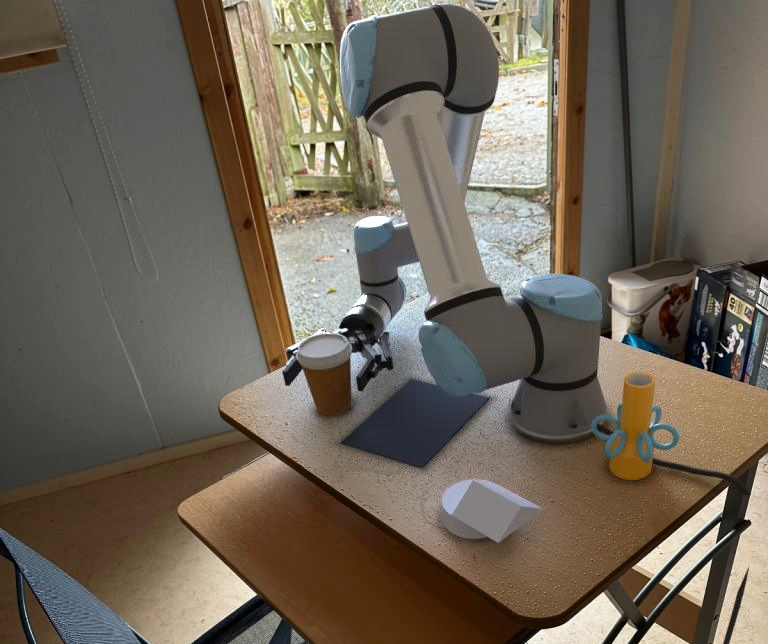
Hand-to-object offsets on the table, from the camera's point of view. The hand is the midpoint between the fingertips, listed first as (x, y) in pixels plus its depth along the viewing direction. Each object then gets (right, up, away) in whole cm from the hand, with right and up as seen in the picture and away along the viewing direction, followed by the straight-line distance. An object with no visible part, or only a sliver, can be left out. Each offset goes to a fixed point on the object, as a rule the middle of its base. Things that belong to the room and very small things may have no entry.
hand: (321, 381), depth 131 cm
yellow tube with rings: (+47, -16, -17) cm, 52 cm away
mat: (+16, -7, -1) cm, 17 cm away
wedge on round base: (+25, -24, -22) cm, 41 cm away
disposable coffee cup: (+2, -3, +6) cm, 7 cm away
